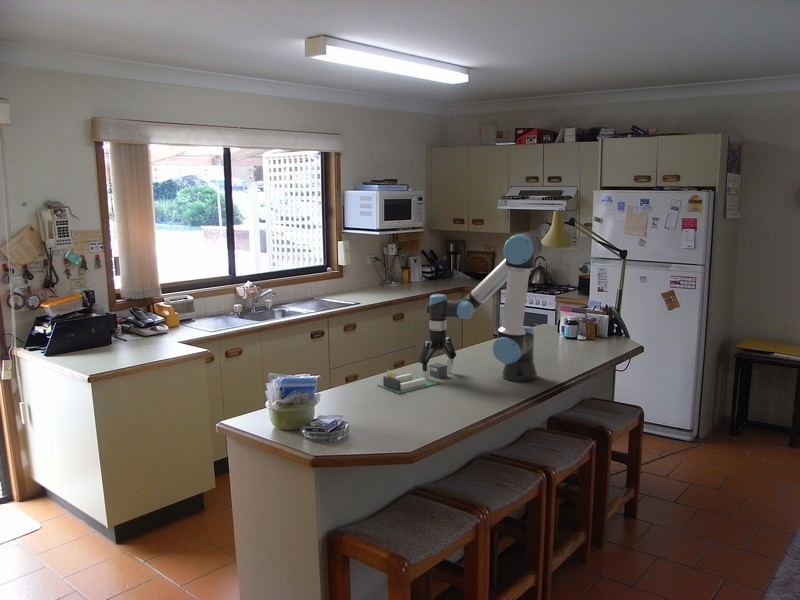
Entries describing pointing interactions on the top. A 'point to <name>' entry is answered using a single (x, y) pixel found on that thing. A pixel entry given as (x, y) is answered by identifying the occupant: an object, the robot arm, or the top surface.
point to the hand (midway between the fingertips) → (437, 375)
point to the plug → (438, 370)
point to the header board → (427, 383)
